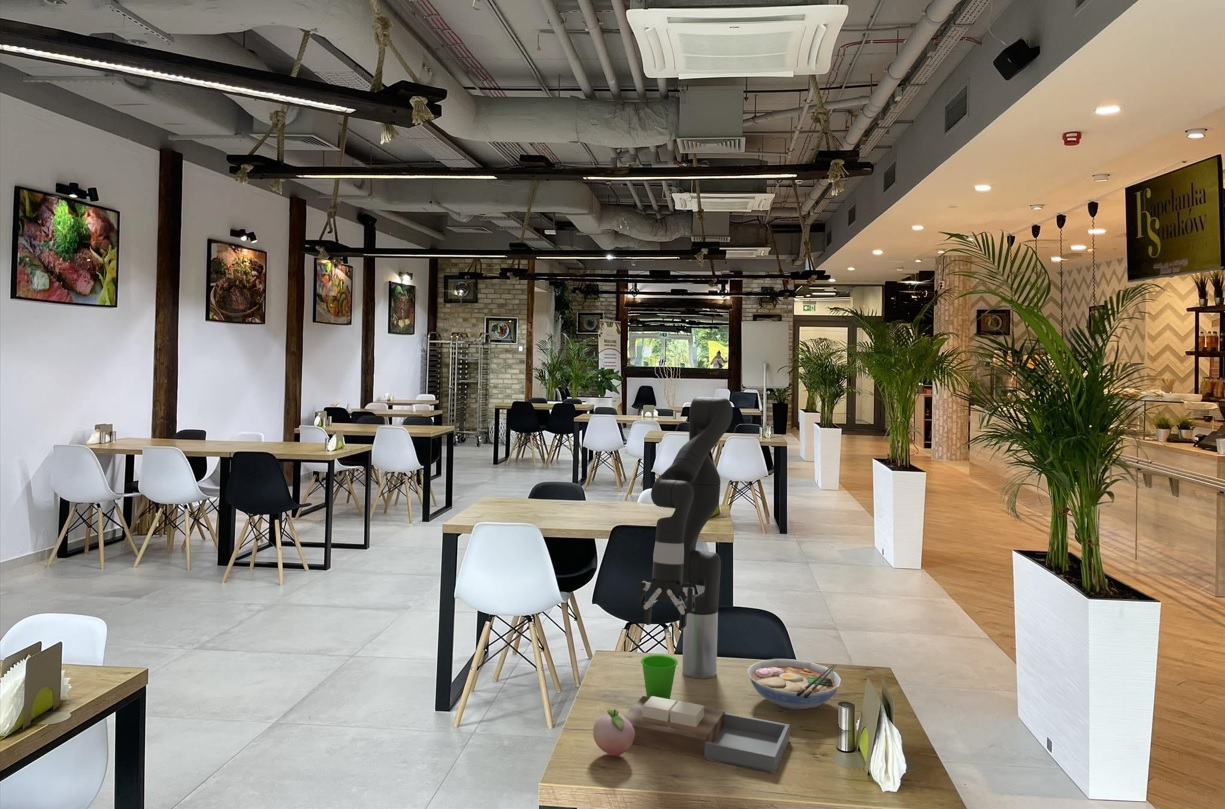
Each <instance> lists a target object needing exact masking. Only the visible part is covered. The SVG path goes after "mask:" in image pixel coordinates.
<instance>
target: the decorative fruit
mask: <svg viewBox="0 0 1225 809" xmlns="http://www.w3.org/2000/svg"><path fill="white" fill-rule="evenodd" d="M592 730H593V731H592V733H593V739H594V743H595V744H596V746H597V747H598V748H599V749H600V750H602V751H603V752H605V753H606V754H608V755H610V756H612V757H617V756H620V755H623V754H624V753H626V752H627V751H628V750H629V749H630V748H631V746H632V745H633V744H634V743H633V741H634V737H635V731H634V728H633V726H632V724H631V723H630V721H629V720H627V719H626V718H625V717H624V714H622V713H620V712H619V711H618V710H617V709H615V708H609V709H607V710H606V713H604V714H603V715H600V716H599V717H598V718H597V719H596V721H595V722H594V724H593V728H592Z"/></svg>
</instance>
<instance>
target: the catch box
mask: <svg viewBox="0 0 1225 809" xmlns="http://www.w3.org/2000/svg"><path fill="white" fill-rule="evenodd" d="M790 727H791V725H790V724H788V723H782V722H777V721H771V720H767V719H761V718H756V717H751V716H747V715H746V716H744V715H739V714H734V713H729V712H725V713H724V727H723V729H722V730H721V732H720V733H719V735H718V736H717V738H716V739H715V741H714V742H708V741H705V750H704V758H703V759H704V760H707V761H712V762H716V763H721V764H727V765H732V766H736V767H741V768H746V769H751V770H756V771H759V772H764V773H768V774H769V773H770V774H774V775H775V773H776V771H777V769H778V768H779V764H780V762H781V760H782V757H783V755H784V753H785V751H786V748H787V746H788V743H789V741H790Z"/></svg>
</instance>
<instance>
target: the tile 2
mask: <svg viewBox="0 0 1225 809" xmlns="http://www.w3.org/2000/svg"><path fill="white" fill-rule="evenodd" d="M704 707H705V705H702V704H697V703H692V702H687V701H681V700H678V701H677V704H676V705H675V706H674V707H673V708H672V709H671V711H670V722H672V723H677V724H682V725H687V726H693V727H697V725H698V724H699V722H700V721H701V720H702V718H703V717H704Z"/></svg>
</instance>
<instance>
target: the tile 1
mask: <svg viewBox="0 0 1225 809" xmlns="http://www.w3.org/2000/svg"><path fill="white" fill-rule="evenodd" d="M677 702H678V701H677V700H675V699H671V698H670V699H665V698H660V697H655V696H651V697H650V699H649V700H648V701H647V702H646V703H645V704H644V705H643V717H647V718H652V719H657V720H662V721H667V722H668V721H669V720H670V711H671V709H672V708H673V707H674V706H675V705H676V704H677Z"/></svg>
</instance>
